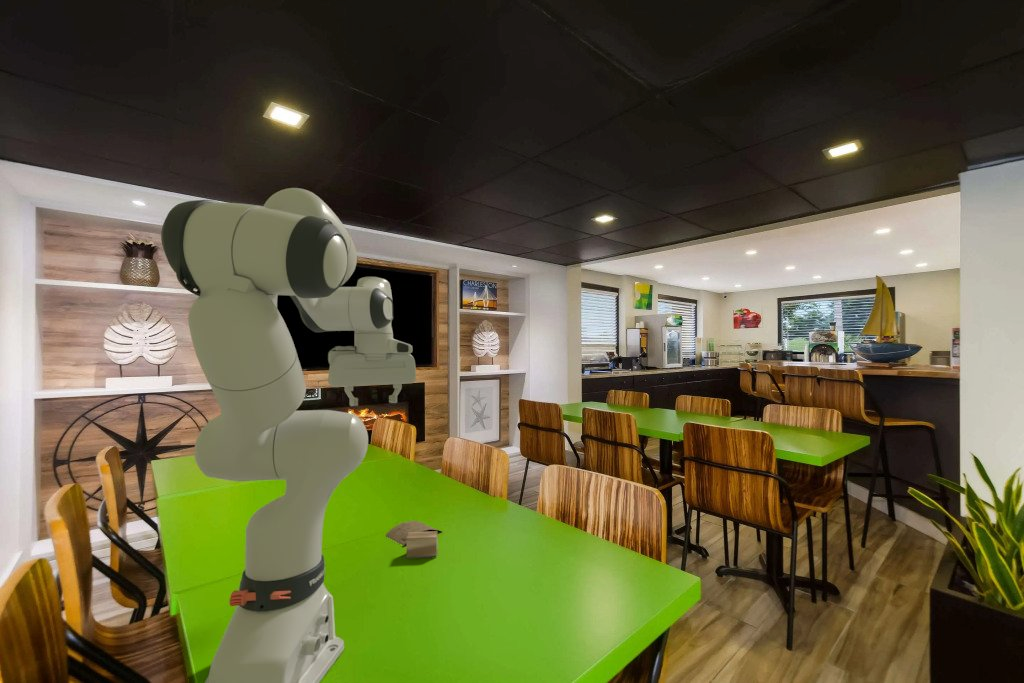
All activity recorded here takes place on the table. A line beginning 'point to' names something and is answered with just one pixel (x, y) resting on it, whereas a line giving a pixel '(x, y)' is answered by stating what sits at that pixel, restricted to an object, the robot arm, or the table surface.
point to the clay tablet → (406, 530)
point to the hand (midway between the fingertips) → (373, 404)
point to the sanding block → (421, 544)
